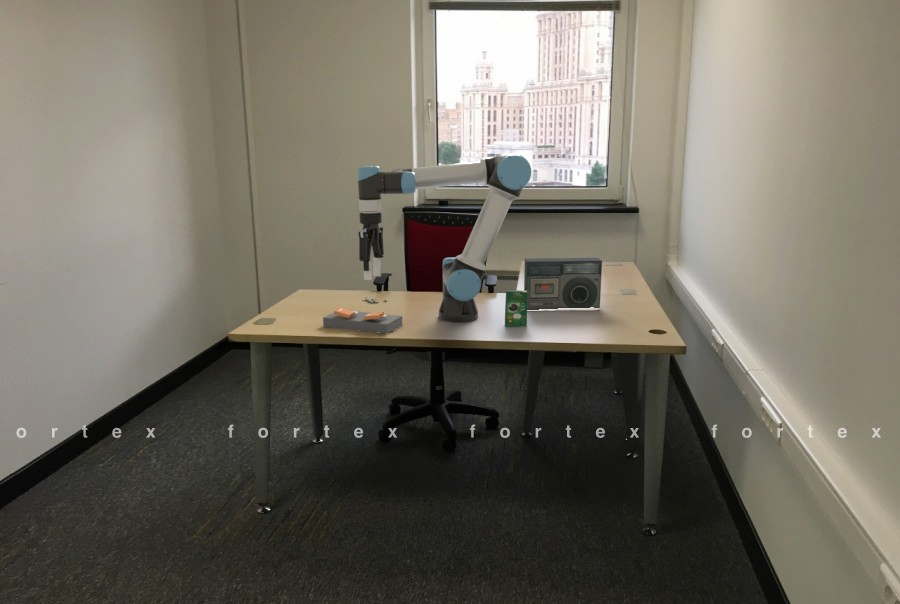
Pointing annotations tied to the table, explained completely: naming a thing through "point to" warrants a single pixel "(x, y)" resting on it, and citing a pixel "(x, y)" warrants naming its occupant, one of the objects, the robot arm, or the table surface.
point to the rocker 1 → (344, 312)
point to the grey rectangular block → (363, 322)
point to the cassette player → (562, 282)
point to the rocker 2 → (373, 315)
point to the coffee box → (516, 308)
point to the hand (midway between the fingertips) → (372, 277)
